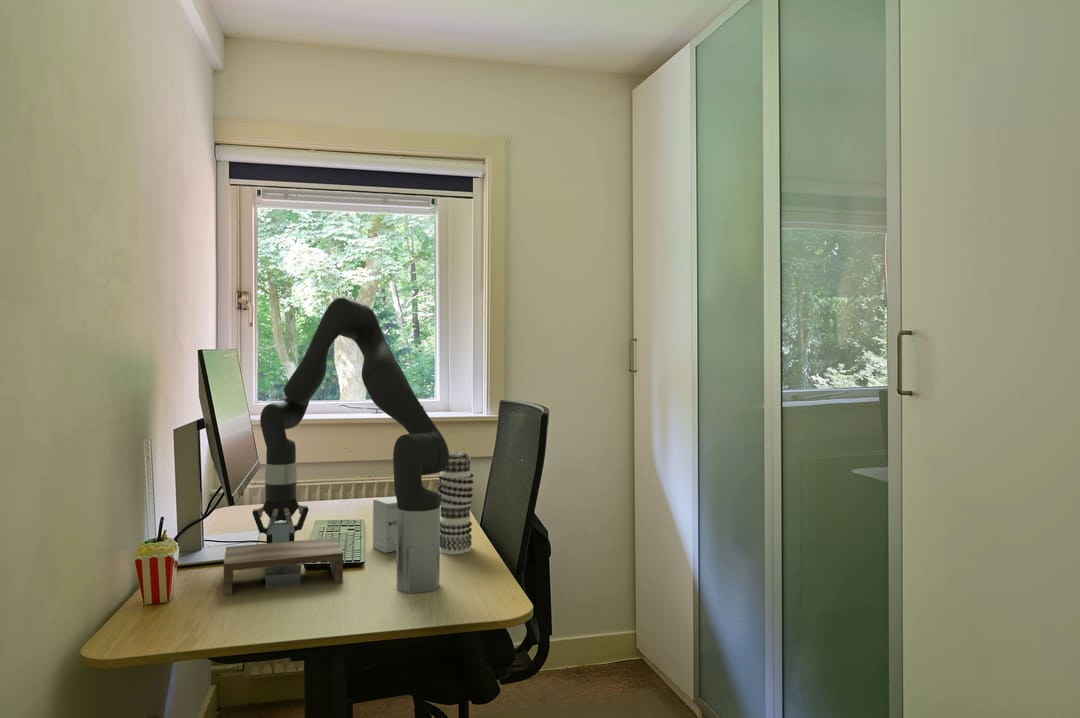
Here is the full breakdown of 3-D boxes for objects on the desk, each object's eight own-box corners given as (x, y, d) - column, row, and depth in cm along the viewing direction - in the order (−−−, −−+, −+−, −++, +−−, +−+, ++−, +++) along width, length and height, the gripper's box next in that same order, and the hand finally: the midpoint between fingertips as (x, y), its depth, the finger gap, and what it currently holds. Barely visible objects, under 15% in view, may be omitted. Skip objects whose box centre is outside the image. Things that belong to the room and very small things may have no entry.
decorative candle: (476, 553, 181) (476, 454, 181) (439, 555, 179) (440, 455, 179) (469, 543, 190) (470, 449, 190) (434, 546, 188) (435, 450, 187)
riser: (342, 582, 158) (342, 553, 158) (223, 595, 149) (223, 564, 149) (335, 564, 171) (336, 537, 171) (226, 575, 162) (226, 546, 162)
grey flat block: (300, 587, 155) (300, 573, 155) (265, 589, 153) (265, 575, 153) (301, 577, 162) (301, 564, 162) (268, 580, 160) (268, 566, 160)
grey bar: (267, 549, 183) (267, 522, 183) (292, 547, 185) (292, 520, 185) (269, 577, 161) (269, 546, 161) (297, 574, 163) (297, 543, 163)
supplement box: (385, 553, 180) (385, 503, 180) (372, 547, 186) (372, 498, 186) (411, 548, 185) (411, 500, 185) (397, 542, 191) (398, 495, 191)
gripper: (250, 484, 176) (250, 554, 176) (311, 481, 181) (310, 549, 181) (250, 479, 183) (250, 546, 183) (309, 476, 188) (308, 541, 188)
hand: (280, 547), depth 182 cm, fingers closed on grey bar, 4 cm apart
